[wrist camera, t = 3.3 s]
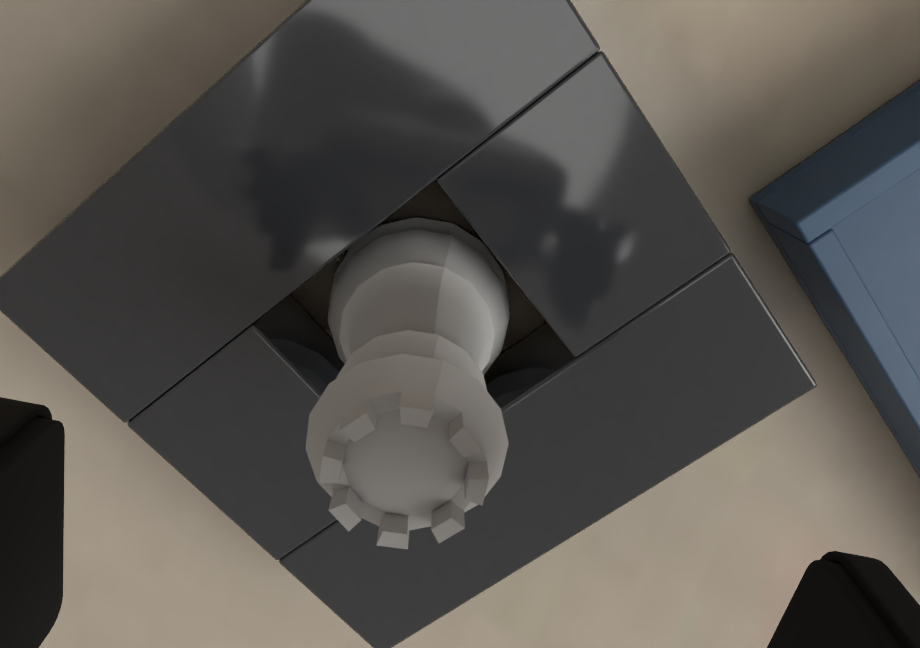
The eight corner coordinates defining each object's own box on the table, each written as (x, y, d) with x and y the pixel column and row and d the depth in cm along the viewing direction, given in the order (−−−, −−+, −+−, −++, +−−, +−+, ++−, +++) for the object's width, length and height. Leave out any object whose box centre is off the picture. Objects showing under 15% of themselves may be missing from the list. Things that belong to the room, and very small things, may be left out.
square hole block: (49, 256, 17) (-21, 293, 15) (468, -117, 14) (473, -152, 12) (388, 581, 21) (380, 656, 19) (766, 337, 18) (819, 386, 16)
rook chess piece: (365, 185, 17) (301, 298, 9) (535, 250, 17) (604, 404, 10) (310, 345, 18) (218, 552, 11) (469, 399, 19) (486, 628, 11)
